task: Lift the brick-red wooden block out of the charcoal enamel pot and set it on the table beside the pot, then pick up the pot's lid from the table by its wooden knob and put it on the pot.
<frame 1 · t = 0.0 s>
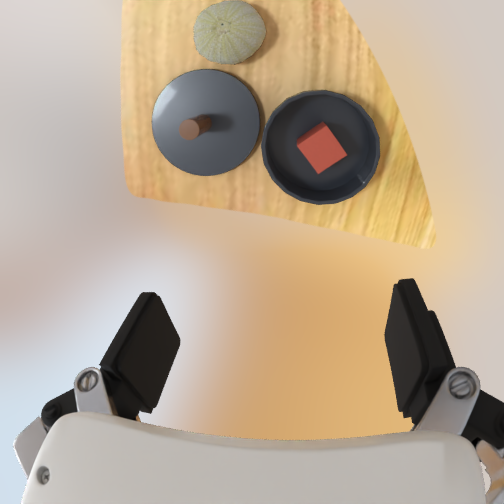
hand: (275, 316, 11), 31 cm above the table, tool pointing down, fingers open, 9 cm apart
pot lid: (203, 122, 36), point 1 cm above the table
block: (319, 143, 36), resting on pot
pot: (319, 142, 36), on the table
sea urchin shell: (232, 33, 29), on the table
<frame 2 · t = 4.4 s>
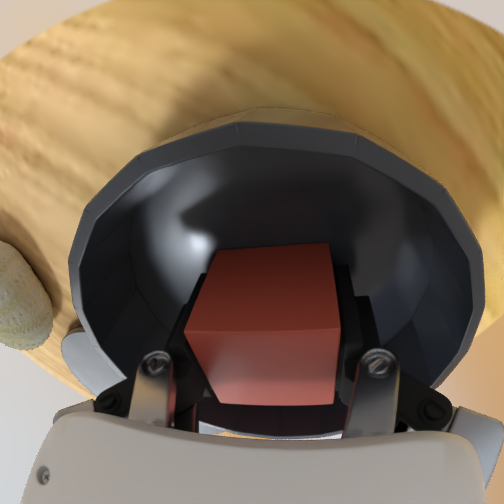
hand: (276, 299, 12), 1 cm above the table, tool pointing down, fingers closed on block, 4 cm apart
pot lid: (144, 391, 20), point 1 cm above the table
block: (278, 289, 12), point 1 cm above the table, touching gripper, pot
pot: (278, 282, 13), on the table
sea urchin shell: (20, 277, 16), on the table
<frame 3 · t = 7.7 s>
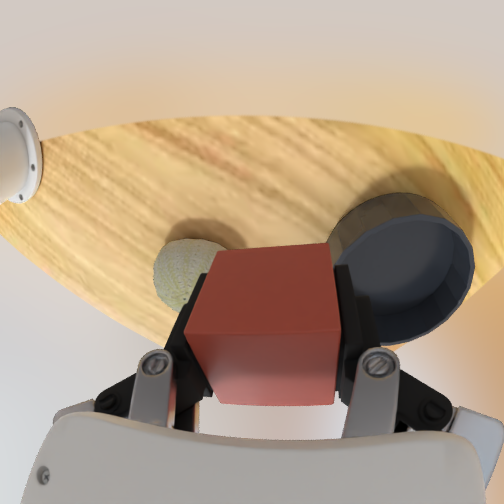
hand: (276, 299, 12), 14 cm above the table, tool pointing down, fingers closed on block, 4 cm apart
block: (278, 289, 12), point 13 cm above the table, touching gripper
pot: (392, 262, 26), on the table
sea urchin shell: (203, 268, 30), on the table
when the fingers open (1 cm above the table, at t = 11.1 s): block stays where it is, on the table.
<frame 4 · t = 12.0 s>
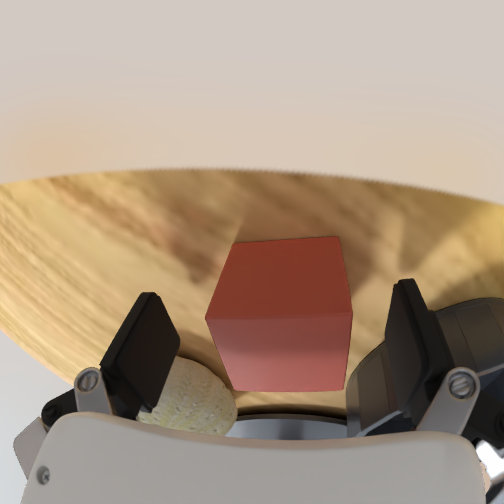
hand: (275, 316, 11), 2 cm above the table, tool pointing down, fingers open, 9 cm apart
pot lid: (289, 444, 23), point 1 cm above the table
block: (289, 281, 13), on the table
pot: (442, 374, 16), on the table
sea urchin shell: (179, 376, 19), on the table
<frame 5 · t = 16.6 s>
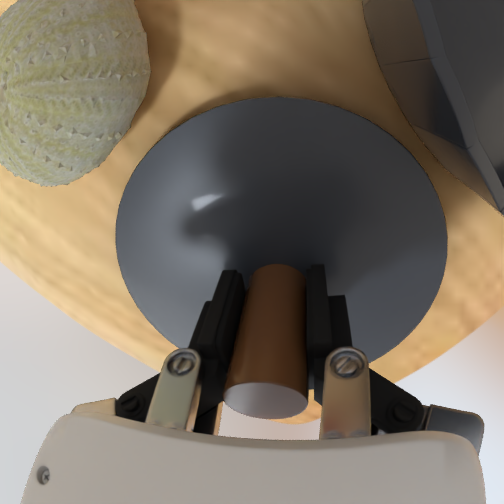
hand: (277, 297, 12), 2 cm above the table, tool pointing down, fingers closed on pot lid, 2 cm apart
pot lid: (278, 280, 13), point 1 cm above the table, touching gripper
sea urchin shell: (78, 73, 9), on the table
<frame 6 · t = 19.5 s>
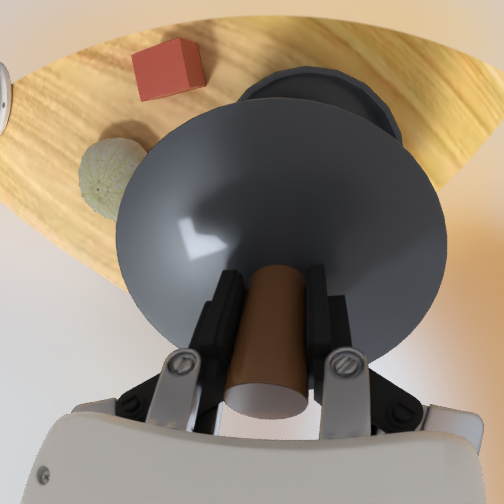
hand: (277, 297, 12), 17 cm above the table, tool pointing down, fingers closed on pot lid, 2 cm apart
pot lid: (278, 281, 13), point 16 cm above the table, touching gripper
block: (179, 70, 22), on the table
pot: (310, 148, 24), on the table
sea urchin shell: (126, 173, 28), on the table
when the fingers open (6 cm above the table, at t = 22.6 s): pot lid stays where it is, resting on pot.
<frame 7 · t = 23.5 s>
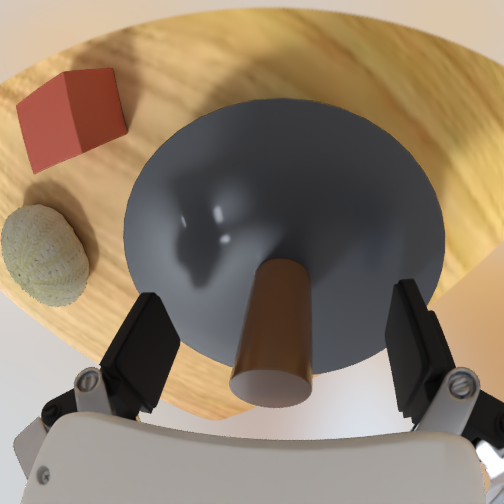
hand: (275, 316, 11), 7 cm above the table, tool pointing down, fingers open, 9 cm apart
pot lid: (282, 275, 13), point 4 cm above the table, touching pot
block: (92, 111, 14), on the table
sea urchin shell: (57, 242, 21), on the table
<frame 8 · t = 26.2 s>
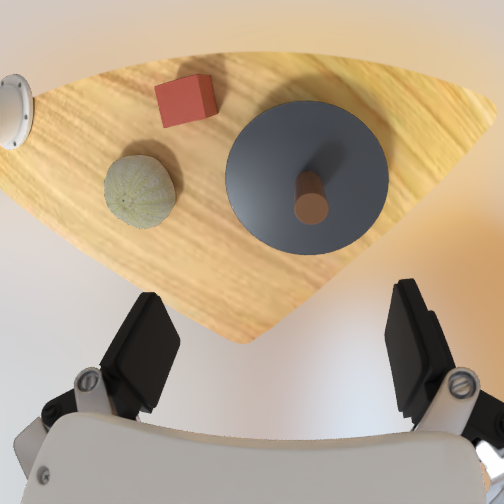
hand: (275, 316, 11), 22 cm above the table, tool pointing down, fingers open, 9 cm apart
pot lid: (308, 182, 26), point 4 cm above the table, touching pot
block: (194, 98, 27), on the table
sea urchin shell: (145, 185, 33), on the table
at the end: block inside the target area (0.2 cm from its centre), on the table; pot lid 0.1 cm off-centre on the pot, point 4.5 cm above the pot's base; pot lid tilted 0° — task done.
